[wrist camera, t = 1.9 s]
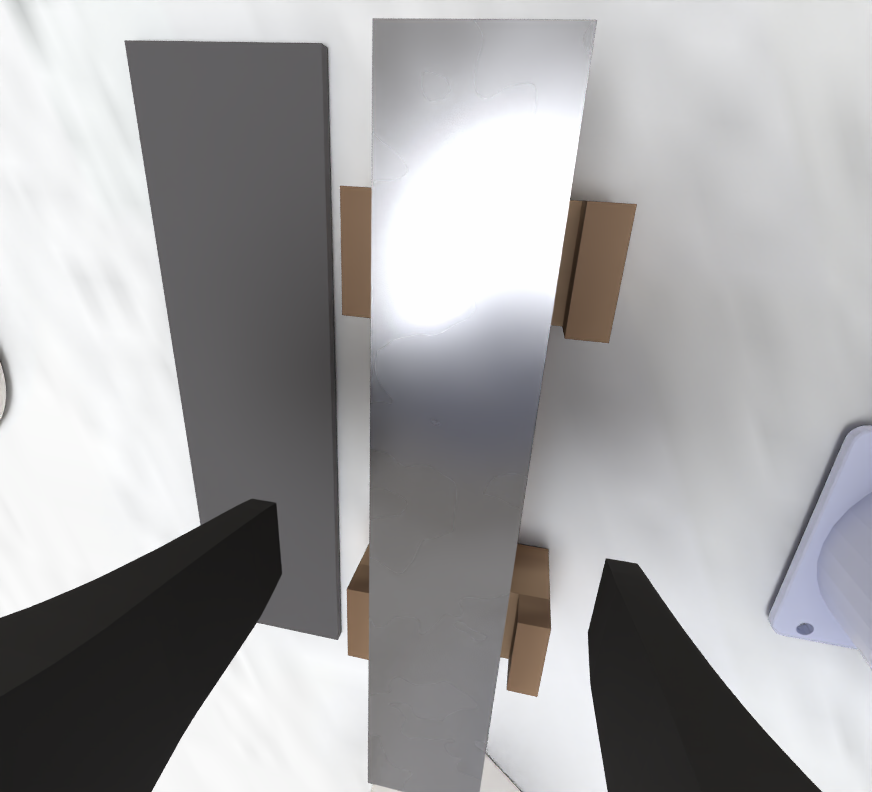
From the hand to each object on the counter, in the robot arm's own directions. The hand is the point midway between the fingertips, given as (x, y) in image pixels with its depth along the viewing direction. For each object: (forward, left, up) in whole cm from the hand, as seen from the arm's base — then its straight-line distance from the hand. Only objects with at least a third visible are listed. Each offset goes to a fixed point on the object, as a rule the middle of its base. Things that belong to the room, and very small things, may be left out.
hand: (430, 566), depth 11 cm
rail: (0, 0, -4) cm, 4 cm away
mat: (+8, 0, -7) cm, 11 cm away
